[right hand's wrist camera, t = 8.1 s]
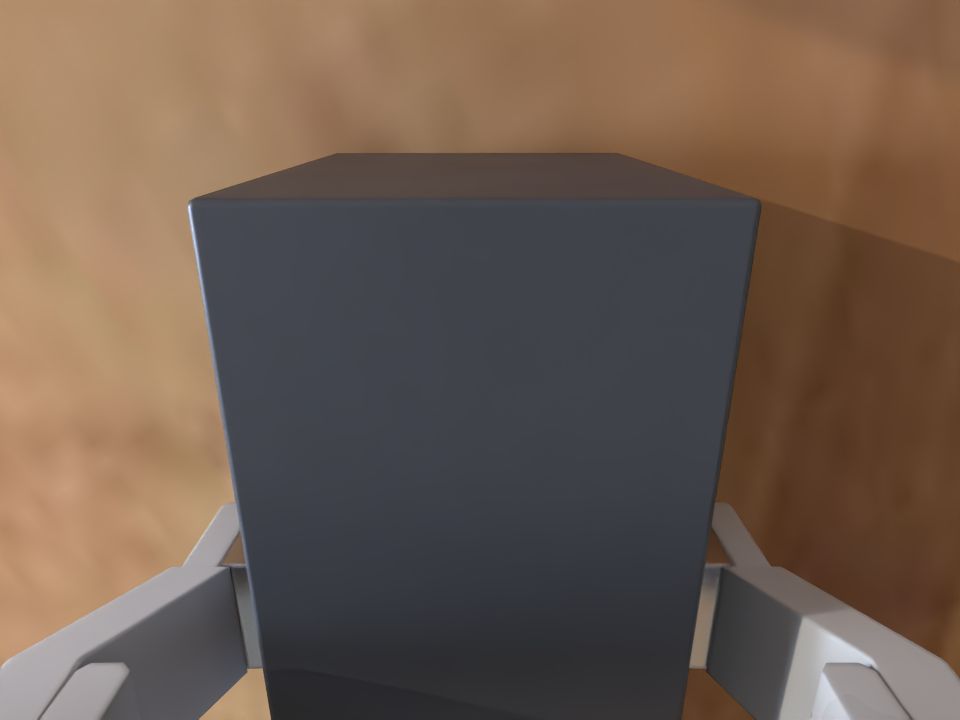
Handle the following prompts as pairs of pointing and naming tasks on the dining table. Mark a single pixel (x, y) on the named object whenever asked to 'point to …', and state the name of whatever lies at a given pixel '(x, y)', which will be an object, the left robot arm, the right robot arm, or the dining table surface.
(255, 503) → the beam
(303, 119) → the dining table surface
